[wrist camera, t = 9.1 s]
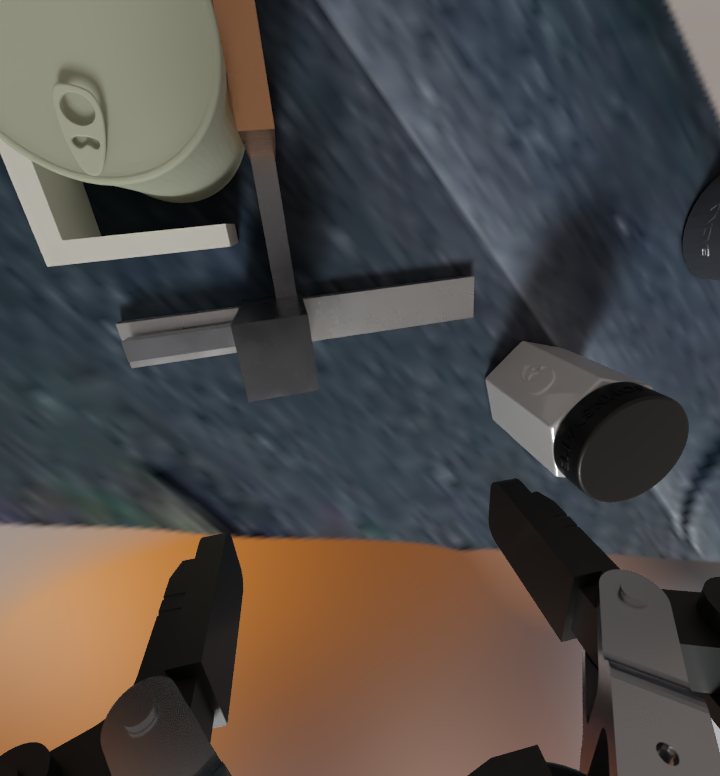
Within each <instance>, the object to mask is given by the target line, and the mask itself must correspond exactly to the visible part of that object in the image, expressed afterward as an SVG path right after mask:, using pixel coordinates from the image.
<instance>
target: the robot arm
mask: <svg viewBox="0 0 720 776" xmlns="http://www.w3.org/2000/svg"><path fill="white" fill-rule="evenodd" d="M683 255H684V259H685V262H686V264H687V266H688V268H689V269H690V270H691V271H692V272H693V273H694V274H695V275H696V276H699V277H701V278H705V279H713V280H720V175H719V176H718V177H717V178H716V179H715V180H713V181H712V182H711V183H710V184H709V186H708V187H707V188H706V189H705V190H704V191H703V192H702V194H701V195H700V197H699V198H698V200H697V201H696V203H695V204H694V206H693V208H692V211H691V213H690V215H689V217H688V220H687V223H686V226H685V229H684V236H683ZM489 527H490V531H491V534H492V537H493V539H494V540H495V542H496V544H497V545H498V547H499V548H500V550H501V551H502V553H503V554H504V556H505V557H506V559H507V560H508V562H509V563H510V565H511V566H512V568H513V569H514V571H515V572H516V574H517V575H518V577H519V578H520V580H521V581H522V583H523V585H524V586H525V587H526V589H527V591H528V592H529V593H530V595H531V597H532V598H533V600H534V601H535V603H536V604H537V606H538V607H539V609H540V610H541V612H542V613H543V615H544V616H545V618H546V619H547V621H548V622H549V624H550V625H551V627H552V628H553V630H554V631H555V633H556V635H557V636H558V637H559V639H560V640H561V642H563V641H567V640H571V639H575V638H577V639H578V641H579V642H580V644H581V645H582V646H583V652H582V698H583V699H582V702H583V704H582V707H583V735H582V746H581V755H580V770H579V771H578V770H575V769H572V768H570V767H567V766H564V765H560V764H556V763H550V762H546V761H545V759H544V757H543V755H542V753H541V751H540V749H539V747H538V745H535V746H531V747H528V748H524V749H521V750H517V751H514V752H510V753H507V754H503V755H500V756H496V757H493V758H490V759H489V760H488V761H486V762H485V763H484V764H483V765H481V766H480V767H478V768H477V769H476V770H474V771H473V772H472V773H471V774H469V775H468V776H720V752H719V748H718V744H717V741H716V736H715V733H714V729H713V725H712V721H711V718H712V719H713V721H714V722H715V723H716V725H717V726H718V727H719V728H720V577H714V578H710V579H709V580H707V581H706V582H705V584H704V587H703V589H702V591H701V592H688V591H676V590H665V589H660V588H659V587H658V586H657V585H656V584H655V583H654V582H652V581H651V580H649V579H647V578H646V577H644V576H642V575H640V574H637V573H635V572H632V571H628V570H621V569H620V568H619V567H617V566H616V564H614V562H613V561H612V560H611V559H610V558H609V557H608V556H607V555H606V554H605V553H604V552H603V551H602V550H601V549H600V548H599V547H598V546H597V545H596V544H595V543H594V542H593V541H592V540H591V539H590V538H589V537H588V536H587V535H586V534H585V532H584V531H583V530H582V529H581V528H580V527H577V524H576V523H575V522H574V521H573V520H572V519H571V518H570V517H567V514H566V513H565V512H564V511H563V510H562V509H561V508H560V507H559V506H558V505H557V504H556V503H555V502H554V501H553V500H551V499H549V498H548V497H546V496H544V495H542V494H541V493H539V492H533V493H531V492H530V491H529V490H528V489H527V488H526V486H525V485H524V484H523V483H522V482H521V481H520V480H519V479H516V478H514V479H509V480H504V481H499V482H494V483H492V485H491V489H490V505H489ZM242 596H243V577H242V571H241V567H240V564H239V560H238V557H237V554H236V551H235V547H234V544H233V540H232V537H231V535H230V533H224V534H218V535H213V536H208V537H203V538H201V540H200V542H199V545H198V549H197V553H196V557H195V559H190V560H186V561H182V563H181V564H180V565H179V567H178V568H177V569H176V571H175V572H174V573H173V575H172V576H171V577H170V579H169V582H168V585H167V588H166V591H165V595H164V600H163V601H162V603H161V606H160V609H159V616H157V618H156V621H155V624H154V628H153V630H152V634H151V636H150V640H149V642H148V645H147V648H146V652H145V655H144V658H143V661H142V664H141V667H140V670H139V673H138V676H137V678H136V681H135V683H134V685H133V686H132V687H131V688H129V689H128V690H127V691H126V692H125V693H124V694H122V696H121V697H120V698H119V699H118V700H117V701H116V702H115V704H114V705H113V707H112V708H111V709H110V711H109V713H108V714H107V717H106V719H104V720H103V721H102V722H101V723H99V724H98V725H96V726H94V727H93V728H91V729H89V730H87V731H86V732H84V733H82V734H80V735H79V736H77V737H75V738H73V739H71V740H70V741H68V742H66V743H64V744H62V745H61V746H59V747H57V748H55V749H54V750H52V751H50V752H49V750H48V749H47V748H46V747H45V746H44V745H42V744H40V743H37V742H36V743H35V742H34V743H26V744H22V745H20V746H17V747H15V748H13V749H11V750H9V751H7V752H6V753H4V754H3V755H1V756H0V776H231V774H230V772H229V771H228V769H227V768H226V766H225V764H224V763H223V762H221V760H220V759H219V758H218V756H217V754H216V752H215V751H214V749H213V747H212V746H211V744H210V741H211V734H212V729H213V728H217V727H221V726H225V725H227V722H228V714H229V705H230V697H231V689H232V680H233V671H234V663H235V654H236V647H237V638H238V630H239V621H240V613H241V605H242Z"/></svg>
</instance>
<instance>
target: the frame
mask: <svg viewBox="0 0 720 776" xmlns="http://www.w3.org/2000/svg"><path fill="white" fill-rule="evenodd" d="M0 154H1V156H2V158H3V161H4V163H5V166H6V168H7V171H8V173H9V175H10V178H11V180H12V183H13V185H14V188H15V190H16V192H17V195H18V197H19V200H20V202H21V204H22V207H23V209H24V212H25V214H26V217H27V219H28V221H29V224H30V226H31V229H32V231H33V233H34V236H35V238H36V241H37V243H38V246H39V248H40V250H41V253H42V255H43V258H44V260H45V262H46V265H47V267H50V266H59V265H68V264H77V263H86V262H95V261H104V260H113V259H122V258H131V257H140V256H149V255H158V254H167V253H176V252H185V251H194V250H203V249H212V248H221V247H230V246H233V245H235V244H237V243H239V242H238V237H237V233H236V228H235V224H218V225H208V226H198V227H188V228H179V229H169V230H159V231H149V232H140V233H130V234H120V235H110V236H101V234H100V231H99V228H98V225H97V222H96V219H95V217H94V214H93V211H92V208H91V205H90V202H89V199H88V196H87V194H86V191H85V188H84V185H83V182H82V181H79V180H75V179H71V178H68V177H65V176H63V175H60V174H57V173H55V172H53V171H51V170H48V169H46V168H44V167H42V166H40V165H38V164H37V163H35V162H33V161H31V160H29V159H28V158H26V157H25V156H23V155H21V154H20V153H18V152H17V151H16V150H14V149H13V148H11V147H10V146H8V145H7V144H6V143H5V142H4V141H2V140H1V139H0Z"/></svg>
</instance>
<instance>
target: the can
mask: <svg viewBox="0 0 720 776" xmlns="http://www.w3.org/2000/svg"><path fill="white" fill-rule="evenodd" d="M0 139H1V140H2V141H4V142H5V143H6V144H7V145H8V146H10V147H11V148H13V149H14V150H16V151H17V152H18V153H20V154H21V155H23V156H25V157H26V158H28V159H29V160H31V161H33V162H35V163H37V164H38V165H40V166H42V167H44V168H46V169H48V170H51V171H53V172H55V173H57V174H60V175H63V176H65V177H68V178H71V179H75V180H79V181H82V182H86V183H92V184H98V185H109V186H117V187H122V188H126V189H130V190H134V191H138V192H141V193H143V194H145V195H148V196H150V197H152V198H155V199H158V200H162V201H167V202H174V203H189V202H196V201H200V200H203V199H205V198H208V197H210V196H212V195H214V194H216V193H217V192H219V191H220V190H221V189H222V188H224V187H225V186H226V185H227V184H228V183H229V182H230V180H231V179H232V178H233V176H234V175H235V173H236V172H237V170H238V168H239V166H240V164H241V161H242V158H243V155H244V151H245V147H244V145H243V143H242V140H241V138H240V136H239V133H238V131H237V126H236V120H235V115H234V110H233V105H232V100H231V94H230V89H229V84H228V79H227V73H226V66H225V60H224V54H223V49H222V45H221V41H220V35H219V29H218V24H217V19H216V15H215V11H214V7H213V4H212V1H211V0H0Z"/></svg>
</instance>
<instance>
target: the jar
mask: <svg viewBox="0 0 720 776" xmlns="http://www.w3.org/2000/svg"><path fill="white" fill-rule="evenodd" d="M485 380H486V386H487V391H488V397H489V402H490V408H491V413H492V419H493V420H494V421H495V422H496V423H497V424H498V425H499V426H501V427H502V428H503V429H504V430H505V431H506V432H507V433H508V434H509V435H511V436H512V437H513V438H514V439H515V440H516V441H517V442H518V443H519V444H520V445H522V446H523V447H524V448H525V449H526V450H527V451H528V452H529V453H530V454H532V455H533V456H534V457H535V458H536V459H537V460H538V461H539V462H540V463H541V464H543V465H544V466H545V467H546V468H547V469H548V470H549V471H550V472H551V473H553V474H554V475H555V476H557V477H566V478H567V479H569V480H570V481H571V482H572V483H573V484H574V485H575V486H577V487H578V488H579V489H580V490H581V491H582V492H583V493H585V494H586V495H587V496H588V497H590V498H592V499H594V500H596V501H600V502H609V503H612V502H621V501H625V500H628V499H631V498H634V497H636V496H638V495H640V494H642V493H644V492H646V491H647V490H649V489H650V488H652V487H653V486H655V485H656V484H657V483H658V482H660V481H661V480H662V479H663V478H664V477H665V476H666V475H667V474H668V473H669V471H670V470H671V469H672V468H673V467H674V465H675V464H676V462H677V461H678V459H679V458H680V456H681V454H682V452H683V450H684V447H685V445H686V442H687V438H688V431H689V424H688V418H687V415H686V413H685V411H684V409H683V407H682V406H681V405H680V404H679V403H678V402H676V401H675V400H673V399H672V398H669V397H667V396H665V395H663V394H660V393H658V392H656V391H654V390H653V388H652V386H650V385H648V384H645V383H643V382H641V381H638V380H636V379H634V378H631V377H629V376H627V375H624V374H622V373H620V372H617V371H615V370H613V369H610V368H608V367H606V366H603V365H601V364H599V363H596V362H594V361H592V360H590V359H587V358H585V357H583V356H580V355H578V354H576V353H573V352H571V351H569V350H566V349H564V348H559V347H553V346H548V345H542V344H537V343H532V342H526V341H522V342H520V343H519V344H518V345H517V346H516V347H515V348H514V349H513V350H512V351H511V352H510V353H509V355H508V356H507V357H506V358H505V359H504V360H503V361H502V362H501V363H500V364H499V365H498V366H497V367H496V368H495V369H494V370H493V371H492V372H491V373H490V374H489V375H488V376H487V377H486V379H485Z"/></svg>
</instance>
